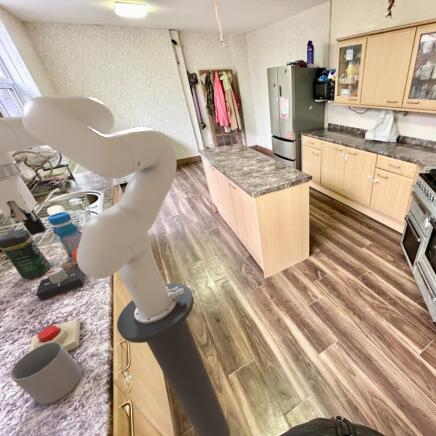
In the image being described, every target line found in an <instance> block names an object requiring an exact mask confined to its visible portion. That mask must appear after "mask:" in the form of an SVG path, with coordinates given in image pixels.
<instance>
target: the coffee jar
mask: <svg viewBox="0 0 436 436" xmlns="http://www.w3.org/2000/svg"><path fill="white" fill-rule="evenodd" d="M0 250H1V251H2V252H3V253H4V254H5V255H6V257H7V258H8V259H9V261H10V262H11V264H12V265H13V266H14V269H16V271H17V273H18V274H19V275H20V277H21V278H22V279H25V280H26V279H33V278H37V277H39V276H40V275H43V274H46V273H47V272H48V270H49V268H50V264H51V263H50V262H49V260H48V259H47V258H46V256H45V255H44V254H43V252H42V251H41V250H40V248H39V247H38V245H37V244H36V242H35V241H34V239H33V235H31V234H30V233H29V231H28V230H27V229H23V228H20V229H15V230H11V231H7V233H6V234H4V235H3V236H2V237H0Z"/></svg>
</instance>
